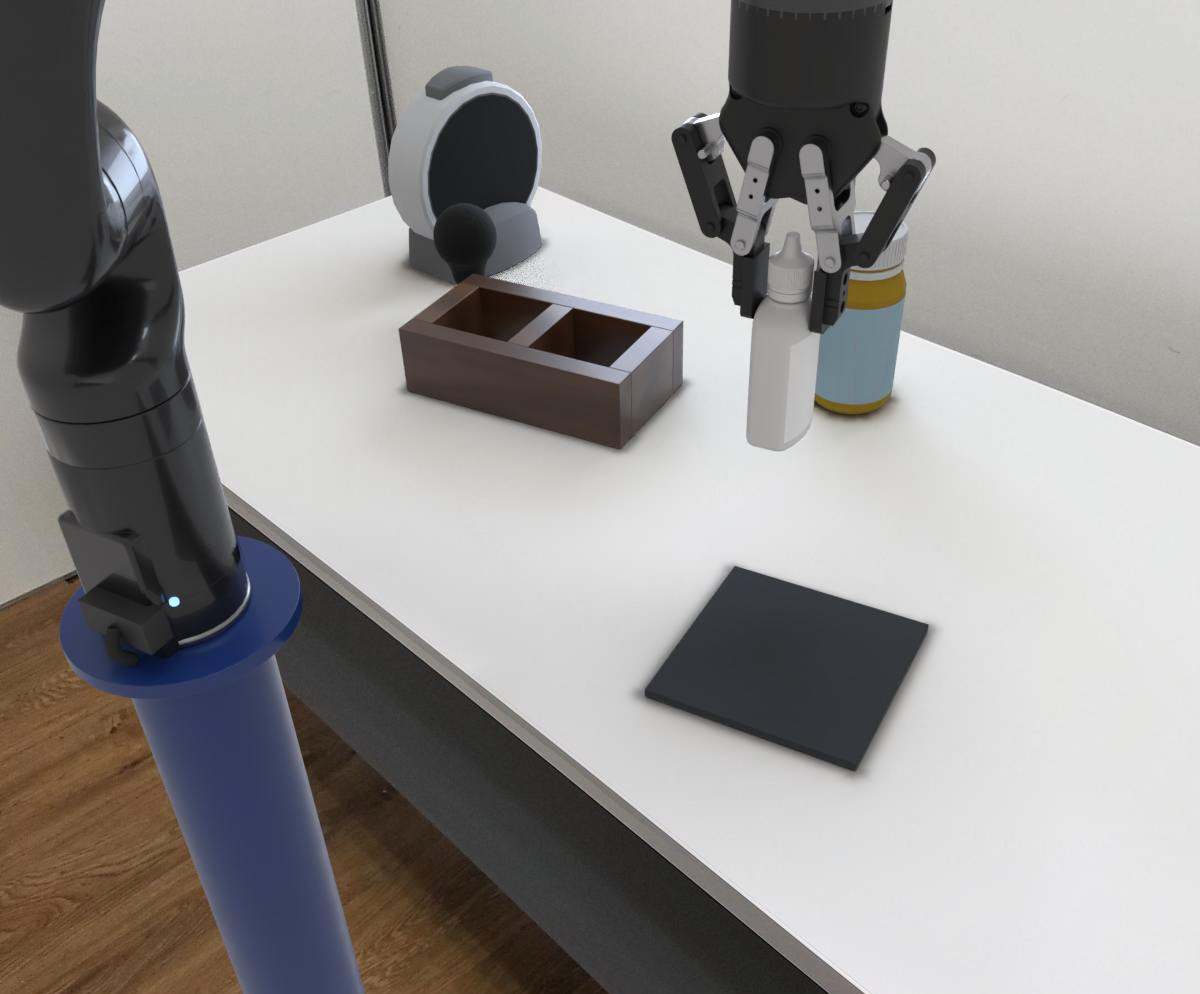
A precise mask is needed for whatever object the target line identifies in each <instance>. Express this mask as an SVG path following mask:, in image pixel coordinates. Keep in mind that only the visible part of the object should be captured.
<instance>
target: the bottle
mask: <svg viewBox="0 0 1200 994" xmlns="http://www.w3.org/2000/svg"><path fill="white" fill-rule="evenodd" d="M875 212H876V210H862V209H861V210H854V223H855V232H856V234H858V233H864V232H865V230H866V228H867V227H868V225H869V223H870V221H871V219H872V217H873V216H874V214H875ZM908 239H909V226H908V224H907V222H906V221H904V220H903V222H902V224H901V225H900V227H899V229H898V231H897V232H896V234H895V236H894V238H893V240H892V241H891V243H890V245H889V246H888V247H887V249H886V250H885V251H884V252H882V253H881V254H880V256H879V257H878V259H877V261H876V262H875V263H874V265H873V266H871V267H870V268H861V267H859V266H852V267H851V268H850V278H849V287H848V297H847V306H846V309H845V311H844V312H843V314H842V316H841V317H840V318H839V319H838V321H837V322H836V323H835V324H834V326H830V327H829V328H828V329H827V330H826V331H825V333H824V334H820V342H819V353H818V365H817V376H816V387H815V398H814V402H816V403H817V404H818V405H819V406H820V407H822V408H823V409H825V410H827V411H830V412H833V413H836V414H842V415H863V414H867V413H872V412H873V411H875V410H877V409H879V408H881V407H882V406H883V405H884V404H886V403H887V402H888V401H889V400H890V398H891V396H892V393H893V387H894V382H895V374H896V366H897V360H898V359H897V358H898V352H899V344H900V339H901V338H900V337H901V329H902V324H903V317H904V308H905V301H906V294H907V280H906V276H905V271H904V266H905V256H906V253H907V245H908Z"/></svg>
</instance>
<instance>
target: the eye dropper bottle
mask: <svg viewBox="0 0 1200 994" xmlns="http://www.w3.org/2000/svg"><path fill="white" fill-rule="evenodd" d="M814 271H815V258H814V257H813V256H812V255H811V254H810V253H808V252H806V251H803V247H802V240H801V233H799V232H797V231H789V232H787V233H786V236H785V239H784V242H783V246H782V249H781V250H779V251H775V252H774V253H772V254H771V255H769V264H768V280H767V295H766V296H765V298H764V299H763V300H762V301H761V303H760V304H759V306H758V308H757V310H756V313H755V315H754V319H752V325H751V336H750V337H751V339H750V352H749V368H748V369H749V373H748V390H747V407H746V408H747V409H746V429H745V435H746V436H745V437H746V442H747V444H748V445H750V446H752V447H755V448H757V449H758V448H759V449H764V450H767V451H772V452H780V453H781V452H784V451H786V450H788V449H790V448H792V447H793V446H795V445H796V444H797V443H799V442H800V441H801V440H802V439H803V438H804V437H805V436H806V435H807V433H808V431H809V430H810V428H811V425H812V421H813V417H814V410H815V409H814V407H815V400H814V398H815V387H816V376H817V365H818V353H819V342H820V334H818V333H814V332H810V330H809V326H810V314H811V302H812V291H813V279H814Z"/></svg>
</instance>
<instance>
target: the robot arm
mask: <svg viewBox="0 0 1200 994" xmlns="http://www.w3.org/2000/svg"><path fill="white" fill-rule="evenodd" d="M105 4H106V0H0V307H1V308H4V309H7V310H9V311H12V312H17V313H22V319H21V327H20V333H19V340H18V345H17V351H16V359H15V360H16V363H15V364H16V370H17V375H18V377H19V381H20V383H21V386H22V389H23V392H24V394H25V397H26V399H27V402H28V403H29V404H28V405H29V406H30V409H31V412H32V415H33V418H34V420H35V423H36V426H37V428H38V432H39V433H40V436H41V439H42V441H43V444H44V447H45V451H46V453H47V455H48V458H49V461H50V464H51V467H52V469H53V472H54V475H55V477H56V480H57V482H58V486H59V488H60V490H61V493H62V496H63V498H64V501H65V504H66V506H67V509H66V510H64V511H63V512H62V513H60V514H59V515H58V517H57V524H58V527H59V528H60V529H59V530H60V531H61V534H62V537H63V539H64V543H65V544H66V547H67V550H68V553H69V555H70V558H71V560H72V563H73V565H74V568H75V571H76V574H77V575H78V579H79V581H80V585H82V587H83V589H84V592H85V594H84V595H83V596H82V597H81V598H79V599H78V603H79V605H80V608H81V611H82V613H83V616H84V618H85V621H86V623H87V626H88V629H90V630H92V631H95V632H97V633H99V634H102V635H104V636H106V637H105V650H106V653H107V655H108V656H109V658H110V659H111V660H113V661H115V662H117V663H119V664H123V665H128V666H130V667H131V666H134V665H135V664H136V663H137V662H138V659H139V658H138V655H137V654H135V653H133V652H130V651H126V650H122V649H121V647H120V642H121V643H124V644H126V645H129V646H131V647H133V648H136V649H138V650H141V651H143V652H146V653H148V654H150V655H153V654H154V655H157V656H159V657H162V658H164V659H168V658H170V657H171V656H173V655H174V654H175V653H176V652H178V651H179V650H181V649H183V648H188V647H192V646H195V645H198V644H201V643H204V642H206V641H208V640H211V639H213V638H215V637H217V636H219V635H220V634H222V633H224V632H225V631H227V630H228V629H229V628H231V627H232V626H233V625H234V624H235V623H236V622H238V621H239V620H240V618H241V617H242V616H243V615H244V613H245V612H246V610H247V609H248V607H249V604H250V601H251V597H252V589H251V585H250V581H249V578H248V575H247V573H246V572H245V569H244V565H243V561H242V558H241V554H240V550H239V546H240V544H239V546H238V543H239V541H238V543H237V540H238V537H237V539H236V536H238V535H237V531H236V528H235V527H234V523H233V521H232V517H231V514H230V511H229V505H228V502H227V499H226V496H225V492H224V488H223V484H222V480H221V477H220V473H219V470H218V466H217V462H216V458H215V455H214V452H213V448H212V444H211V439H210V437H209V432H208V429H207V426H206V422H205V419H204V414H203V410H202V407H201V403H200V399H199V395H198V392H197V388H196V384H195V380H194V376H193V373H192V369H191V367H190V362H189V358H188V355H187V350H186V344H185V330H186V329H185V328H186V307H185V299H184V298H185V297H184V292H183V287H182V283H181V279H180V273H179V270H178V264H177V259H176V255H175V251H174V247H173V242H172V237H171V233H170V229H169V225H168V220H167V216H166V211H165V208H164V203H163V199H162V195H161V192H160V188H159V185H158V181H157V178H156V176H155V173H154V170H153V167H152V164H151V163H150V160H149V158H148V155H147V153H146V152H145V150H144V147H143V146H142V144H141V142H140V141H139V139H138V137H137V135H135V134H136V133H134V131H133V130H132V129H131V127H130V126H129V125H128V124H127V123H126V122H125V121H124V119H123V118H122V117H120V115H118V114H117V112H115V111H114V110H113V109H112V108H111V107H109V106H108V105H107V104H105V103H104V102H102V101H101V100H99V99H97V58H98V43H99V38H100V37H99V36H100V30H101V23H102V19H103V13H104V9H105ZM893 5H894V0H730V11H729V35H728V36H729V38H728V39H729V40H728V65H727V68H728V69H727V81H728V94H727V97H726V99H725V102H724V104H723V105H722V107H721V108H720V110H719V112H718V113H714V114H712V115H711V114H710V115H707V114H706V113H704V112H697V113H695V114H693V115H692V116H691V117H689V118H688V119H687V120H686V121H684V122H683V123H682V124H680V125H678V127H676V128H675V129H674V130H673V131H672V133H671V143H672V146H673V149H674V152H675V156H676V160H677V161H678V166H679V168H680V171H681V174H682V177H683V180H684V183H685V187H686V189H687V192H688V195H689V199H690V202H691V206H692V208H693V210H694V213H695V217H696V220H697V223H698V225H699V230H700V232H701V233H702V235H703V236H705V237H706V238H709V239H714V238H715V239H716V238H718V239H719V240H721V241H724V242H725V243H726V244H727V245H728V246H729V247H730V249H731V251H732V275H731V276H732V280H731V285H732V286H731V297H732V301H733V304H734V306H738V307H739V315H740V317H741V318H747V319H750V320H753V319H754V315H755V313H756V310H757V308H758V306H759V304H760V303H761V301H762V300H763V299H764V298H765V296H766V295H767V280H768V264H769V258H770V254H771V253H770V251H771V242H767V241H765V239H766V236H767V235H768V234H769V230H770V227H771V224H772V220H773V217H774V213H775V209H776V206H777V204H778V202H779V200H780V199H792V200H795V201H797V202H799V203H801V204H803V205H806V206H807V210H808V211H807V212H808V220H809V226H810V229H811V230H812V231H813V232H814V234H815V243H816V250H817V258H818V259H817V260H818V264H819V265H818V266H817V268H815V269H814V271H813V284H812V302H811V314H810V326H809V330H810V332H814V333H818V334H824V333H825V331H826V330H827V329H828V328H829V327H830V326H834V324H835V323H836V322H837V321H838V319H839V318H840V317H841V316H842V314H843V312H844V311H845V309H846V306H847V297H848V287H849V278H850V268H851V267H852V266H859V267H861V268H870V267H871V266H873V265H874V263H875V262H876V261H877V259H878V257H879V256H880V254H881V253H882V252H884V251H885V250H886V249H887V247H888V246H889V245H890V243H891V241H892V240H893V238H894V236H895V234H896V232H897V231H898V229H899V227H900V225H901V224H902V222H903V221H904V220H905V218H906V217H907V215H908V213H909V212H910V209H911V208H912V206H913V205H914V203H915V201H916V200H917V197H918V195H920V192H921V190H922V189H923V187H924V185H925V183H926V182H927V180H928V178H929V176H930V175H931V173H932V171H933V170H934V168H935V166H936V163H937V156H936V153H935V152H934V151H933V150H932V149H930V148H929V147H920V148H917V149H916V150H914V149H913V148H910V147H909V146H907V145H905V144H904V143H902V142H900V141H899V140H897V139H896V138H893V137H892V136H890V135H889V126H888V122H887V120H886V117H885V114H884V111H883V105H882V98H883V92H884V85H885V75H886V66H887V59H888V49H889V39H890V32H891V23H892V22H891V21H892V14H893ZM725 141H726V142H727V144H728V146H729V148H730V149H731V151H732V153H733V155H734V156H735V158H736V160H737V162H738V163H739V165H740V166H741V169H742V170H743V172H744V177H743V181H742V183H741V184H742V185H741V188H740V192H739V196H738V200H736V196H735V193H734V191H733V187H732V184H731V181H730V177H729V174H728V171H727V167H726V165H725V162H724V158H723V155H722V154H723V153H724V152H725V149H726V148H725V147H726V142H725ZM873 159H874V160H876V161H877V163H878V165H879V174H878V177H877V181H878V185H879V187H880V188H881V190H883V191H885V194H884V196H883V198H882V199H881V201H880V203H879V204H878V206H877V208H876V210H875V211H876V212H875V214H874V216H873V217H872V219H871V221H870V223H869V225H868V227H867V228H866V230H865V232H864V233H858V234H856V232H855V223H854V211H855V209H856V203H857V202H856V201H857V200H856V190H855V179H856V177H858V176H859V174H860V173H861V172H862V171H863V170H864V169H865V168H866V166H867V165H869V164H870V162H871V161H873ZM240 549H241V547H240ZM241 553H242V550H241ZM242 556H243V554H242ZM243 559H244V558H243ZM244 563H245V562H244ZM245 566H246V565H245Z"/></svg>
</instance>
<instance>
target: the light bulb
mask: <svg viewBox="0 0 1200 994" xmlns="http://www.w3.org/2000/svg"><path fill="white" fill-rule="evenodd" d="M433 239H434V244H435V248H436V250H437V252H438V254H439V255H440V256H441V258H442V259H443V260H444V261H445V262H446V263H447V264H448V265H449V267H450V269H451V271H452V275H453V278H454V280H455V282H456V284H455V285H456V286H457V285H458V284H459V283H461V282H462V281H463V280H465V279H466V278H467V277H469V276H470V275H471V274H478V275H482V276H485V270H486V264H487V262H488V260H489V258H490V257H491V256H492V254H493V252H494V250H495V246H496V242H497V233H496V228H495V225H494V222H493V220H492V219H491V217H490V216H489V215H488V214H487V213H486V212H485V211H484V210H483V209H481V208H480V207H478V206H475V205H472V204H467V203H460V204H456V205H453V206H450V207H449V208H447V209H446V210H444V211H443V212H442V214H441V215H440V216H439V217H438V219H437V221H436V223H435V226H434V231H433Z"/></svg>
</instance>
